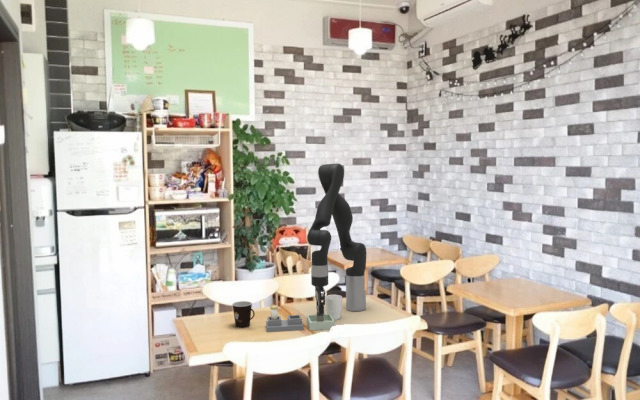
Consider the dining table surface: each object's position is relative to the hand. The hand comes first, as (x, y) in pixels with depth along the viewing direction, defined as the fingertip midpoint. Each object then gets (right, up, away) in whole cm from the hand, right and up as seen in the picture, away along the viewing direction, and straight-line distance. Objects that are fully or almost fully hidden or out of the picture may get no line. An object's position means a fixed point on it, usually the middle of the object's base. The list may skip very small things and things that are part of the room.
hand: (320, 311), depth 233 cm
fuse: (-20, -5, -2) cm, 21 cm away
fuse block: (-16, -7, -1) cm, 17 cm away
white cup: (+6, -6, +12) cm, 15 cm away
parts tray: (0, -7, +1) cm, 7 cm away
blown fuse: (0, -6, 0) cm, 6 cm away
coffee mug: (-34, -7, +1) cm, 35 cm away
